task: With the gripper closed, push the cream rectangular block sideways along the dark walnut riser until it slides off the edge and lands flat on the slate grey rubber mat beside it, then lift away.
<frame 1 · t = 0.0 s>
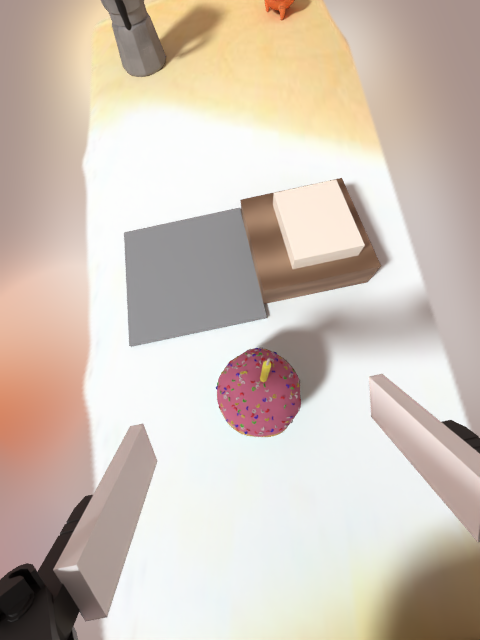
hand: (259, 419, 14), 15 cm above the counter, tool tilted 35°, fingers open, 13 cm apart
mat: (190, 272, 36), on the counter
cream rectangular block: (313, 228, 32), point 4 cm above the counter, touching riser
coffeepot: (146, 68, 53), on the counter
pot: (279, 14, 56), on the counter
riser: (300, 249, 35), on the counter
cupcake: (259, 393, 30), on the counter
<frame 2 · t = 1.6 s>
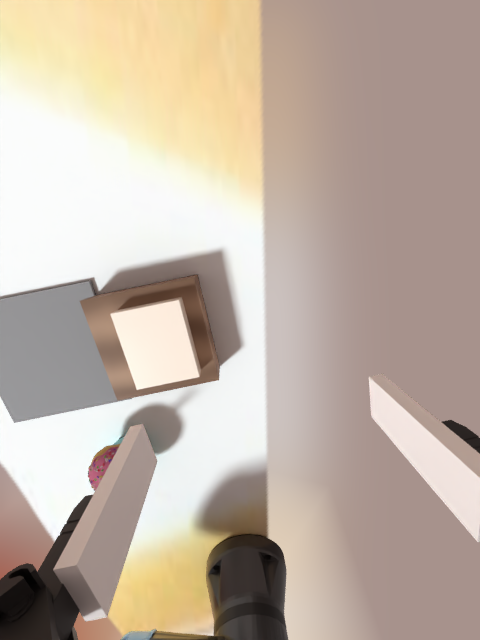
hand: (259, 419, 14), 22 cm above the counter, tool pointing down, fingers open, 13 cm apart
mat: (51, 355, 36), on the counter
cream rectangular block: (161, 341, 32), point 4 cm above the counter, touching riser
riser: (161, 332, 36), on the counter
cupcake: (132, 447, 41), on the counter
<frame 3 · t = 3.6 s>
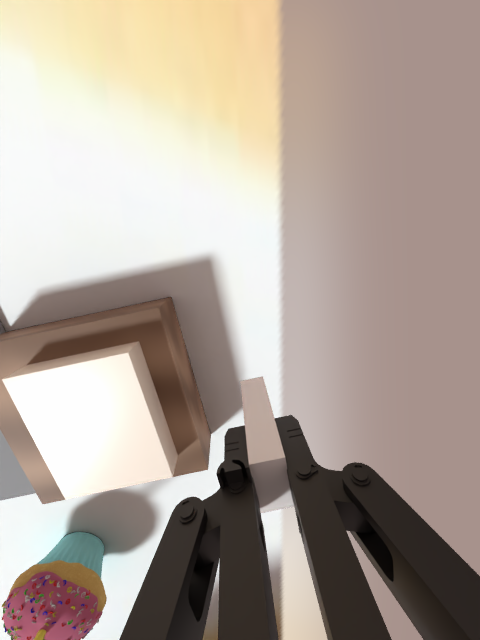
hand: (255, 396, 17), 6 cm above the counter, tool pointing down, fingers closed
cream rectangular block: (107, 413, 19), point 4 cm above the counter, touching riser
riser: (116, 387, 23), on the counter
cupcake: (84, 545, 28), on the counter
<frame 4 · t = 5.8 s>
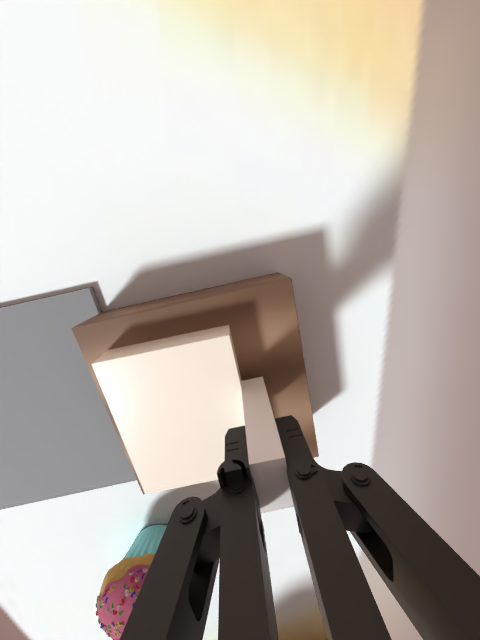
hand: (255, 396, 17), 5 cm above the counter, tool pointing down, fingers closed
mat: (30, 411, 22), on the counter
cream rectangular block: (188, 403, 18), point 4 cm above the counter, touching gripper, riser
riser: (211, 371, 21), on the counter
cupcake: (161, 538, 27), on the counter
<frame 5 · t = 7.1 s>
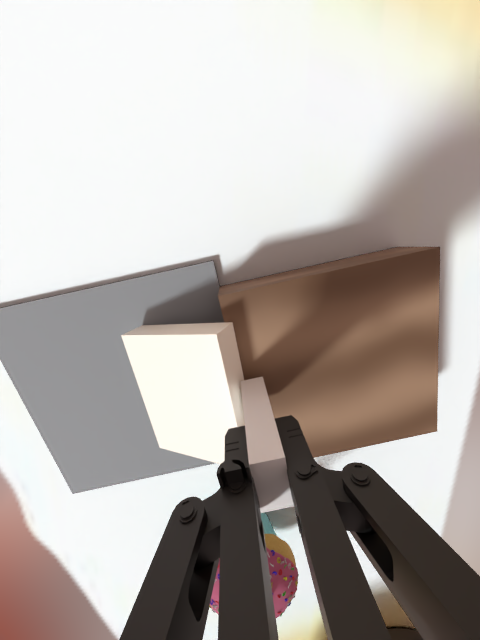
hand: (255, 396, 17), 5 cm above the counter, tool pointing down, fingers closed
mat: (136, 388, 21), on the counter
cream rectangular block: (198, 385, 19), point 2 cm above the counter, tilted 28°, touching gripper, mat
riser: (319, 348, 21), on the counter
cupcake: (246, 520, 27), on the counter
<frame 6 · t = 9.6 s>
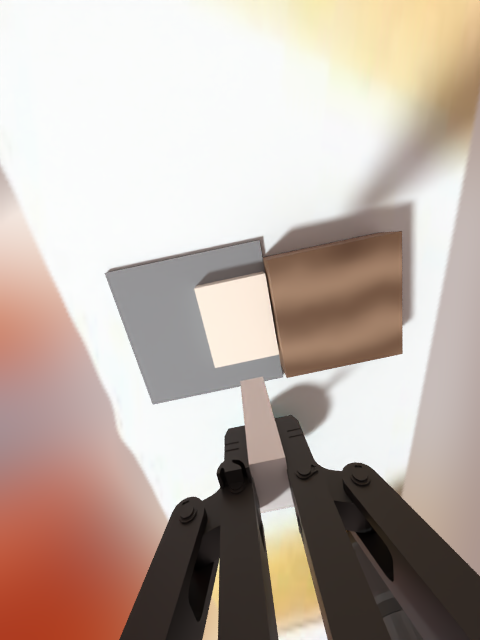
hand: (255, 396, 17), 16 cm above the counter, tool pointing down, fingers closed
mat: (201, 328, 32), on the counter
cream rectangular block: (237, 318, 31), resting on mat
riser: (326, 302, 32), on the counter
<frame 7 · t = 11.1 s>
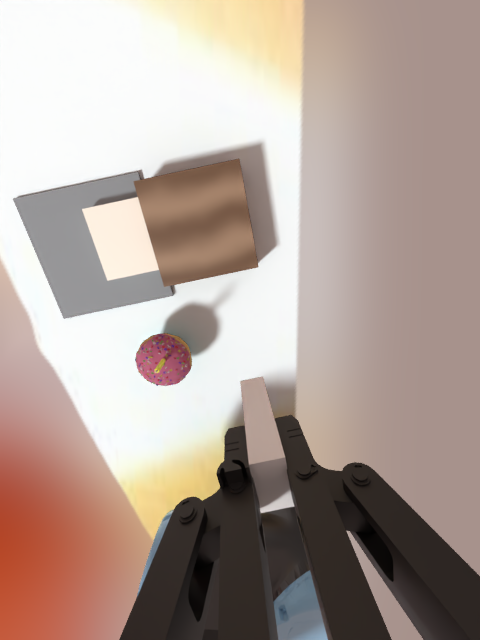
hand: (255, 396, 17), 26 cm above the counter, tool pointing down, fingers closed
mat: (99, 250, 38), on the counter
cream rectangular block: (127, 240, 38), resting on mat
riser: (202, 228, 38), on the counter
cupcake: (171, 348, 44), on the counter
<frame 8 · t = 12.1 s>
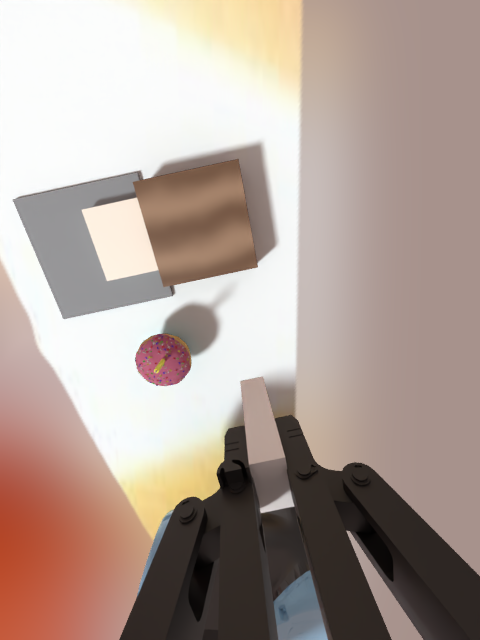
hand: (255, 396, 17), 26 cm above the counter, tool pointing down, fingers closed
mat: (99, 250, 38), on the counter
cream rectangular block: (127, 241, 38), resting on mat
riser: (201, 228, 38), on the counter
cupcake: (170, 348, 44), on the counter
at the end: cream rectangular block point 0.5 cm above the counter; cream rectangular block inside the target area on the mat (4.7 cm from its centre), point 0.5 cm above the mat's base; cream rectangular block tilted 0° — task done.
